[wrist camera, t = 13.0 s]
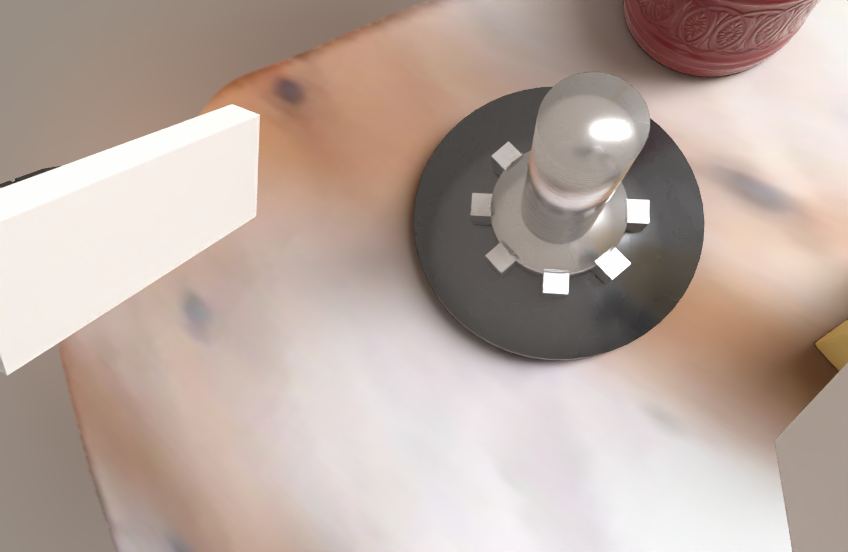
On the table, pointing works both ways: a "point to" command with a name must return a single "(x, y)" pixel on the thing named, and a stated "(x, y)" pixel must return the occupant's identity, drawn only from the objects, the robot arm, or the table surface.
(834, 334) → the cheese
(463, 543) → the table surface
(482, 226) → the carrier plate
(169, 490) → the table surface
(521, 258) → the sun gear
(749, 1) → the canister
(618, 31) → the table surface
